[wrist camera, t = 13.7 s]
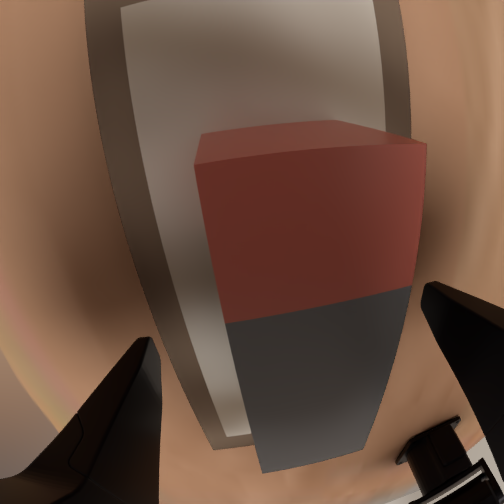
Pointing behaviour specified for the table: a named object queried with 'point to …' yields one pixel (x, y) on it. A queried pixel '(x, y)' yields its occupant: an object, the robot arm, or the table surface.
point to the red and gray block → (311, 274)
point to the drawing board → (219, 119)
